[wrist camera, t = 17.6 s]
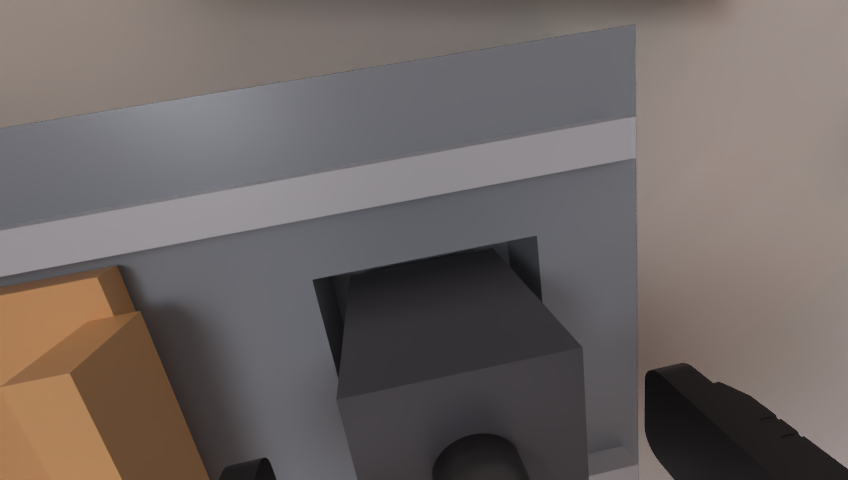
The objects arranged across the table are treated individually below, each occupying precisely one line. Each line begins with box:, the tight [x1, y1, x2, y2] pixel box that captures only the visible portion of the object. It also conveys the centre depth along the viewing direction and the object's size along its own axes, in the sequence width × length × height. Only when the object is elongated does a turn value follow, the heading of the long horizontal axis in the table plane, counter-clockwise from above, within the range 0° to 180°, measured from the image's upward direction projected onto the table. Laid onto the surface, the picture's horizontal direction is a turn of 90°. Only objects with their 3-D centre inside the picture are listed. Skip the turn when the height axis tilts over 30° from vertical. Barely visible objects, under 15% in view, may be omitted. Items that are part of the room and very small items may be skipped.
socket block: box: [0, 24, 639, 480], centre depth 14 cm, size 16×22×5 cm
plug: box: [336, 248, 589, 480], centre depth 11 cm, size 5×5×8 cm
